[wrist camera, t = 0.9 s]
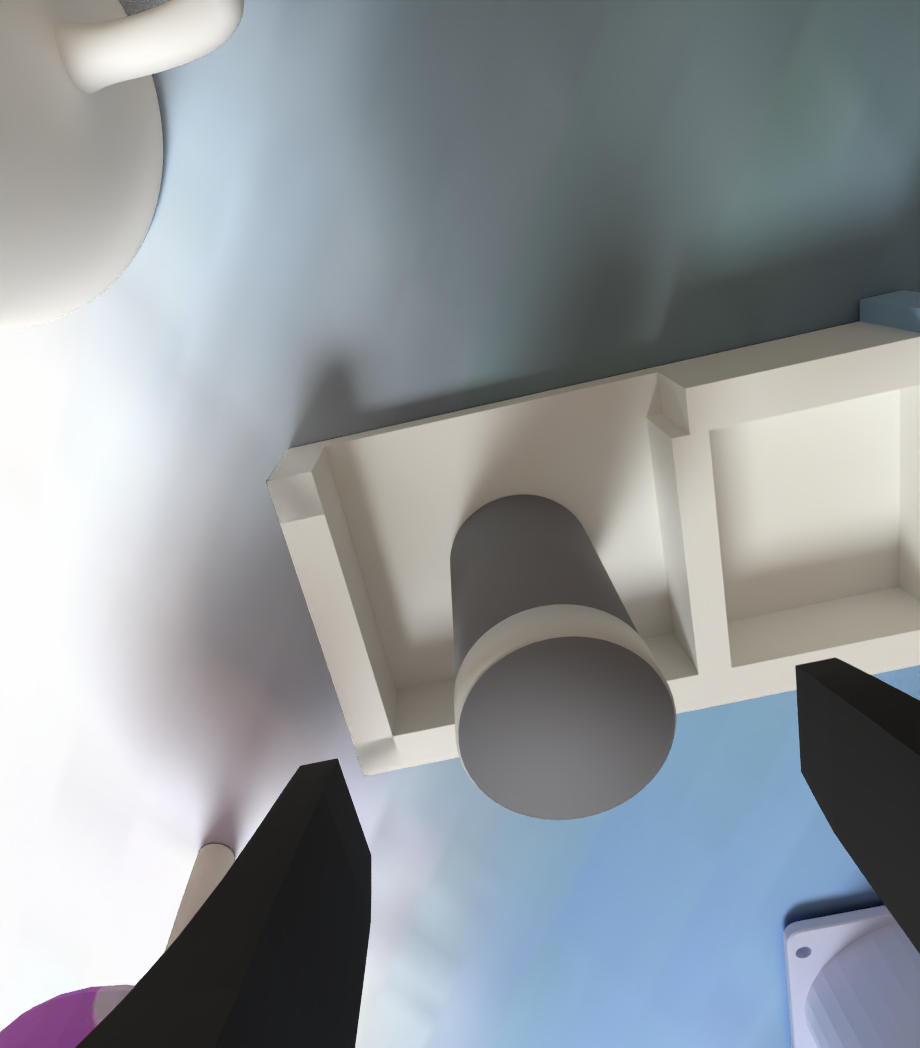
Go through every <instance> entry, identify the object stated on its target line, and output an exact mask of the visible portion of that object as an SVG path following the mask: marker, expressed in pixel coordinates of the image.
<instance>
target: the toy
mask: <svg viewBox="0 0 920 1048" xmlns="http://www.w3.org/2000/svg"><path fill="white" fill-rule="evenodd" d="M234 860H235V857H234V854H233V852H232V851H231V850H230V849H229V848H228V847H226V846H224V845H221V844H208V845H206V846H204V847H202V848H201V849H200V851H199V853H198V855H197V858H196V861H195V864H194V866H193V869H192V872H191V875H190V878H189V881H188V884H187V887H186V890H185V893H184V895H183V898H182V901H181V904H180V907H179V910H178V913H177V916H176V919H175V922H174V925H173V928H172V931H171V934H170V937H169V940H168V944H167V947H166V950H167V949H168V948H169V947H170V945H171V944H172V943H173V942H174V941H175V939H176V938H177V937H178V936H179V935H180V933H181V932H182V931H183V930H184V928H185V927H186V926H187V925H188V923H189V922H190V921H191V919H192V918H193V917H194V915H195V914H196V913H197V911H198V910H199V909H200V908H201V906H202V905H203V904H204V902H205V901H206V900H207V898H208V897H209V896H210V894H211V893H212V892H213V891H214V889H215V888H216V887H217V885H218V884H219V883H220V881H221V880H222V879H223V877H224V876H225V875H226V873H227V872H228V870H229V869H230V868H231V866H232V865H233V863H234ZM166 950H165V951H166ZM133 988H134V986H132V985H116V986H100V987H90V988H86V989H82V990H77V991H73V992H69V993H65V994H61V995H58V996H56V997H54V998H52V999H50V1000H48V1001H46V1002H44V1003H42V1004H39V1005H37V1006H35V1007H33V1008H31V1009H30V1010H28V1011H26V1012H25V1013H23V1014H22V1015H20V1016H19V1017H18V1018H17V1019H16V1020H14V1021H13V1022H12V1023H11V1024H10V1025H8V1026H7V1027H6V1028H5V1029H3V1030H2V1031H1V1032H0V1048H75V1047H76V1046H77V1045H78V1044H79V1043H80V1042H81V1041H82V1040H83V1039H84V1038H85V1037H86V1036H87V1035H88V1034H89V1033H90V1032H91V1031H92V1030H93V1029H94V1028H95V1027H96V1026H97V1025H98V1024H99V1023H100V1022H101V1021H102V1020H103V1019H104V1018H105V1017H106V1016H107V1015H108V1014H109V1013H110V1012H111V1011H112V1010H113V1009H114V1008H115V1007H116V1006H117V1005H118V1004H119V1003H120V1002H121V1001H122V1000H123V999H124V998H125V996H126V995H127V994H128V993H129V992H130V991H131V990H132V989H133Z"/></svg>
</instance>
